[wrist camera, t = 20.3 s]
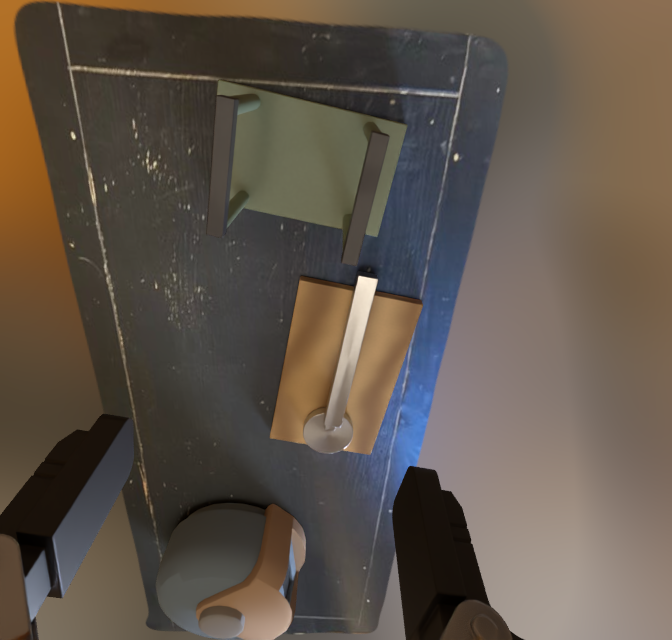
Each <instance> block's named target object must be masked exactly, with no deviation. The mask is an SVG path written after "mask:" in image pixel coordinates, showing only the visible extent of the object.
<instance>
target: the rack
mask: <svg viewBox="0 0 672 640" xmlns="http://www.w3.org/2000/svg"><path fill="white" fill-rule="evenodd" d="M406 129H407V125H406V124H404V123H400V122H396V121H392V120H387V119H383V118H379V117H375V116H371V115H367V114H363V113H358V112H354V111H350V110H346V109H342V108H338V107H333V106H329V105H325V104H321V103H317V102H313V101H309V100H304V99H300V98H296V97H292V96H288V95H284V94H280V93H275V92H271V91H267V90H263V89H259V88H255V87H250V86H246V85H242V84H238V83H234V82H230V81H226V80H218V88H217V95H216V105H215V119H214V133H213V147H212V161H211V175H210V189H209V203H208V217H207V231H206V234H207V235H209V236H214V237H219V238H223V237H224V235H225V234H226V231H227V227H228V226H229V225H230V224H231V222H232V221H233V220H234V219H235V217H236V216H237V215H238V214H239V212H240V211H241V210H242V209H243V208H246V209H250V210H255V211H259V212H264V213H269V214H273V215H278V216H283V217H287V218H292V219H297V220H301V221H306V222H311V223H315V224H320V225H325V226H329V227H334V228H339V229H343V252H342V256H341V263H344V264H349V265H353V266H357V264H358V260H359V256H360V252H361V248H362V244H363V240H364V236H365V234H366V235H371V236H376V237H377V236H378V232H379V229H380V225H381V221H382V218H383V214H384V210H385V207H386V203H387V199H388V195H389V192H390V188H391V184H392V181H393V177H394V173H395V170H396V166H397V162H398V159H399V155H400V151H401V147H402V144H403V140H404V136H405V133H406Z"/></svg>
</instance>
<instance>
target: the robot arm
mask: <svg viewBox="0 0 672 640" xmlns="http://www.w3.org/2000/svg"><path fill="white" fill-rule="evenodd" d="M133 459H134V440H133V420H132V419H131V418H126V417H120V416H114V415H108V414H102V415H101V416H100V417H99V418H98V419H97V421H96V422H95V424H94V425H93V426H92V428H91V429H90V430H89V431H82V430H76V431H74V432H73V433H72V434H70V435H68V436H67V437H65V438H64V439H62V440H61V441H59V442H58V443H57V444H56V446H55V447H54V448H53V450H52V451H51V452H50V453H49V454H48V456H47V457H46V458H45V461H44V462H42V463H41V464H40V466H39V467H38V468H37V470H36V471H35V473H34V475H33V476H31V477H30V478H29V480H28V481H27V482H26V483H25V485H24V486H23V487H22V489H21V490H20V491H19V492H18V493H17V495H16V496H15V497H14V499H13V500H12V501H11V502H10V504H9V505H8V506H7V507H6V509H5V510H4V511H3V512H2V514H1V515H0V640H39V639H38V632H37V623H36V617H35V616H36V614H37V612H38V610H39V609H40V607H41V605H42V603H43V602H44V600H45V598H46V596H48V597H56V598H63V596H64V594H65V592H66V591H67V589H68V587H69V585H70V583H71V581H72V580H73V578H74V576H75V574H76V572H77V570H78V569H79V567H80V565H81V563H82V561H83V559H84V557H85V556H86V554H87V552H88V550H89V548H90V547H91V545H92V543H93V541H94V539H95V537H96V536H97V534H98V532H99V530H100V528H101V526H102V524H103V523H104V521H105V519H106V517H107V515H108V513H109V511H110V510H111V508H112V506H113V504H114V502H115V501H116V499H117V497H118V495H119V493H120V491H121V490H122V488H123V486H124V484H125V482H126V480H127V478H128V476H129V474H130V471H131V468H132V464H133ZM392 520H393V530H394V538H395V547H396V556H397V564H398V574H399V582H400V591H401V600H402V608H403V617H404V626H405V635H406V640H524V639H521V638H520V637H518V636H516V635H515V634H514V633H512V632H511V631H510V630H509V628H508V626H507V624H506V623H505V621H504V620H503V619H502V617H501V616H500V615H499V614H498V613H497V612H496V611H495V610H494V609H493V608H492V607H491V606H490V604H489V601H488V598H487V595H486V592H485V587H484V584H483V580H482V577H481V573H480V570H479V566H478V563H477V559H476V555H475V552H474V548H473V545H472V544H471V538H470V534H469V531H468V529H467V523H466V520H465V516H464V513H463V509H462V507H461V506H460V504H459V503H458V501H457V500H456V498H455V497H454V495H453V494H452V492H451V491H445V490H441V487H440V483H439V479H438V475H437V472H436V471H435V470H432V469H426V468H420V467H414V466H409V467H408V469H407V471H406V474H405V476H404V478H403V481H402V483H401V486H400V488H399V490H398V493H397V495H396V498H395V500H394V505H393V513H392Z"/></svg>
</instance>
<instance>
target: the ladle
mask: <svg viewBox="0 0 672 640" xmlns="http://www.w3.org/2000/svg"><path fill="white" fill-rule="evenodd" d="M377 283H378V277H377V274H372V273H367V272H362V271H357V275H356V280H355V284H354V288H353V293H352V297H351V301H350V306H349V310H348V314H347V319H346V323H345V327H344V332H343V336H342V340H341V345H340V349H339V353H338V358H337V362H336V366H335V371H334V375H333V379H332V383H331V388H330V392H329V396H328V401H327V405H326V407H323V408H319V409H317V410H314V411H313V412H311V413H310V414H309V415H308V416H307V418H306V419H305V422H304V426H303V437H304V440H305V442H306V443H307V445H308V446H309V447H310V448H312V449H313V450H315V451H317V452H321V453H336V452H339V451H341V450H343V449H344V448H346V447H347V446H348V445H349V443H350V442H351V440H352V438H353V424H352V421H351V419H350V417H349V416H348V415H347V414H346V413H345V409H346V405H347V401H348V397H349V393H350V389H351V385H352V382H353V378H354V374H355V370H356V366H357V362H358V358H359V354H360V350H361V346H362V342H363V338H364V334H365V330H366V326H367V322H368V318H369V314H370V310H371V306H372V303H373V299H374V295H375V291H376V287H377Z"/></svg>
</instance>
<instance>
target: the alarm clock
mask: <svg viewBox="0 0 672 640" xmlns="http://www.w3.org/2000/svg"><path fill="white" fill-rule="evenodd" d="M305 549H306V538H305V535H304V531H303V528H302V526H301V525H300V524H299V523H298V522H297V520H296V519H295V518H294V517H293V516H292V515H290V514H289V513H287V512H286V511H284V510H283V509H281V508H280V507H278V506H277V505H275V504H271V505H269V506H268V507H267V508H266V510H264V509H261V508H259V507H255V506H251V505H247V504H239V503H221V504H213V505H210V506H207V507H203V508H200V509H199V510H197V511H196V512H194V513H192V514H191V515H190V516H189V517H188V518H187V519H185V520H184V521H182V522H180V523H179V525H178V526H177V527H176V528H175V529H174V531H173V532H172V535H171V537H170V540H169V543H168V545H167V548H166V551H165V553H164V556H163V558H162V561H161V564H160V567H159V571H158V575H157V580H156V585H155V586H156V591H157V596H158V601H159V605H160V607H161V608H162V610H163V611H164V613H165V614H166V615H167V616H168V617H169V618H170V619H171V620H172V621H173V622H175V623H176V624H177V625H178V626H180V627H181V628H183V629H185V630H187V631H189V632H191V633H194V634H197V635H200V636H203V637H209V638H213V639H224V640H235V639H246V640H273V639H275V638H276V637H278V636H279V635H281V634H282V633H283V632H285V631H286V630H287V629H288V627H289V626H290V625H291V623H292V621H293V617H294V613H295V606H296V595H297V584H298V573H299V570H300V568H301V567H302V565H303V563H304V562H305Z"/></svg>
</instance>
